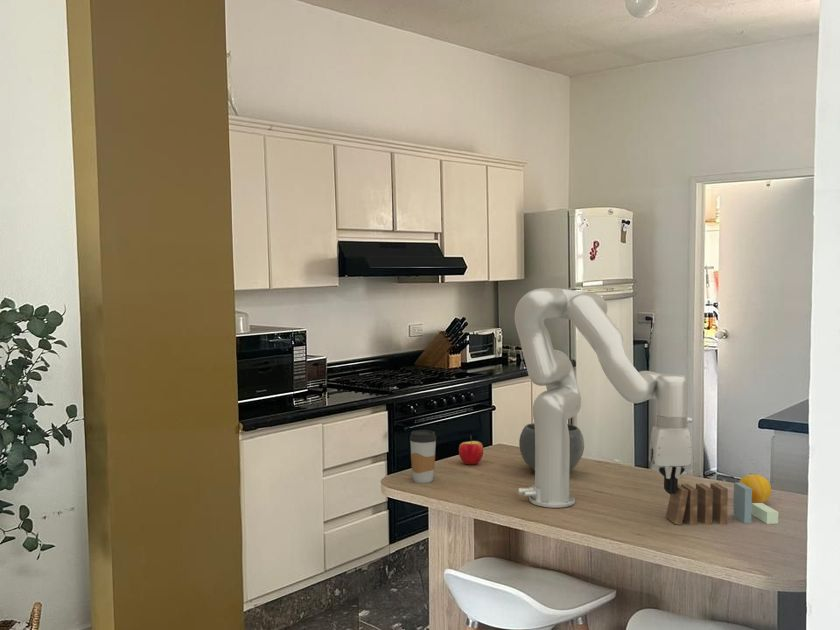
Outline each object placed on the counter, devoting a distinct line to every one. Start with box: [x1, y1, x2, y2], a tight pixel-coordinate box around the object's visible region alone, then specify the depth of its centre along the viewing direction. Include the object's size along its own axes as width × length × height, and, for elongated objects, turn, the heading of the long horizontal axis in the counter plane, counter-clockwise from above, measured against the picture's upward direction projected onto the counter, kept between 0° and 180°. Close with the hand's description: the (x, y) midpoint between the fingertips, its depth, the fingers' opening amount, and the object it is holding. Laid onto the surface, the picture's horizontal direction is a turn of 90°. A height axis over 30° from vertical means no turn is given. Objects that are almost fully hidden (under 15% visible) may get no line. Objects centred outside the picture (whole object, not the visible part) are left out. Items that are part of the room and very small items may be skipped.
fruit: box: [738, 473, 772, 504], centre depth 223 cm, size 9×8×8 cm
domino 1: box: [665, 484, 688, 526], centre depth 207 cm, size 2×6×9 cm, turn 5°
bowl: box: [518, 422, 585, 472], centre depth 256 cm, size 20×20×15 cm
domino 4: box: [709, 482, 729, 525], centre depth 208 cm, size 2×6×9 cm, turn 5°
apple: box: [458, 435, 484, 465], centre depth 268 cm, size 8×8×10 cm
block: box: [751, 503, 779, 525], centre depth 209 cm, size 3×8×3 cm, turn 5°
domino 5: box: [733, 482, 752, 524], centre depth 208 cm, size 2×6×9 cm, turn 5°
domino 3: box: [695, 483, 713, 525], centre depth 207 cm, size 2×6×9 cm, turn 5°
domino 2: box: [680, 483, 698, 526], centre depth 207 cm, size 2×6×9 cm, turn 5°
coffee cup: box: [409, 429, 437, 484], centre depth 247 cm, size 8×8×15 cm
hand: (670, 492), depth 206 cm, fingers closed
